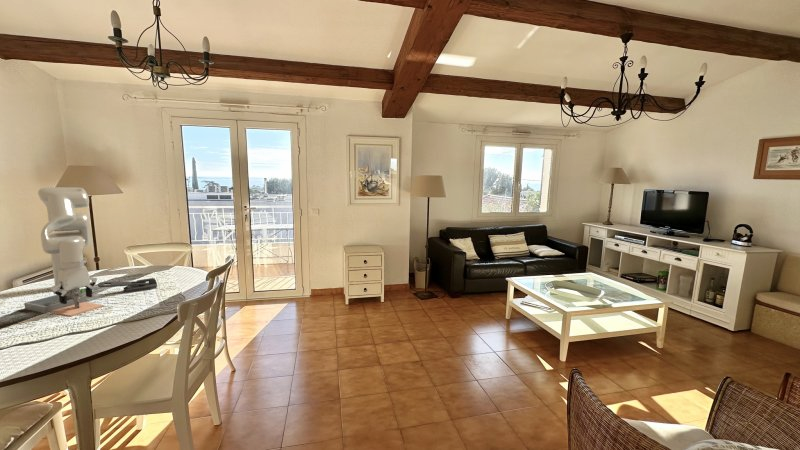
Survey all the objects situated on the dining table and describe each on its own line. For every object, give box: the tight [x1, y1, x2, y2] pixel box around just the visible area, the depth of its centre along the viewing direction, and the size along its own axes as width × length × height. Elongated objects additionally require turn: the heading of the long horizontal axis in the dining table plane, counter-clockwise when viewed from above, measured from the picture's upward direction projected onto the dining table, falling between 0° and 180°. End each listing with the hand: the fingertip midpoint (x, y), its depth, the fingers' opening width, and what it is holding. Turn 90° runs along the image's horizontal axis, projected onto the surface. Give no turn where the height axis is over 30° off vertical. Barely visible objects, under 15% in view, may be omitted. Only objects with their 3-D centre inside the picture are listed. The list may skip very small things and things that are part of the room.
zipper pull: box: [97, 277, 158, 294], centre depth 182 cm, size 9×7×25 cm
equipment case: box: [23, 292, 106, 314], centre depth 164 cm, size 24×16×3 cm, turn 163°
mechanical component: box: [66, 288, 86, 309], centre depth 155 cm, size 3×10×10 cm, turn 77°
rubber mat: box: [50, 301, 105, 317], centre depth 156 cm, size 13×14×1 cm
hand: (76, 300), depth 156 cm, fingers open, 9 cm apart
